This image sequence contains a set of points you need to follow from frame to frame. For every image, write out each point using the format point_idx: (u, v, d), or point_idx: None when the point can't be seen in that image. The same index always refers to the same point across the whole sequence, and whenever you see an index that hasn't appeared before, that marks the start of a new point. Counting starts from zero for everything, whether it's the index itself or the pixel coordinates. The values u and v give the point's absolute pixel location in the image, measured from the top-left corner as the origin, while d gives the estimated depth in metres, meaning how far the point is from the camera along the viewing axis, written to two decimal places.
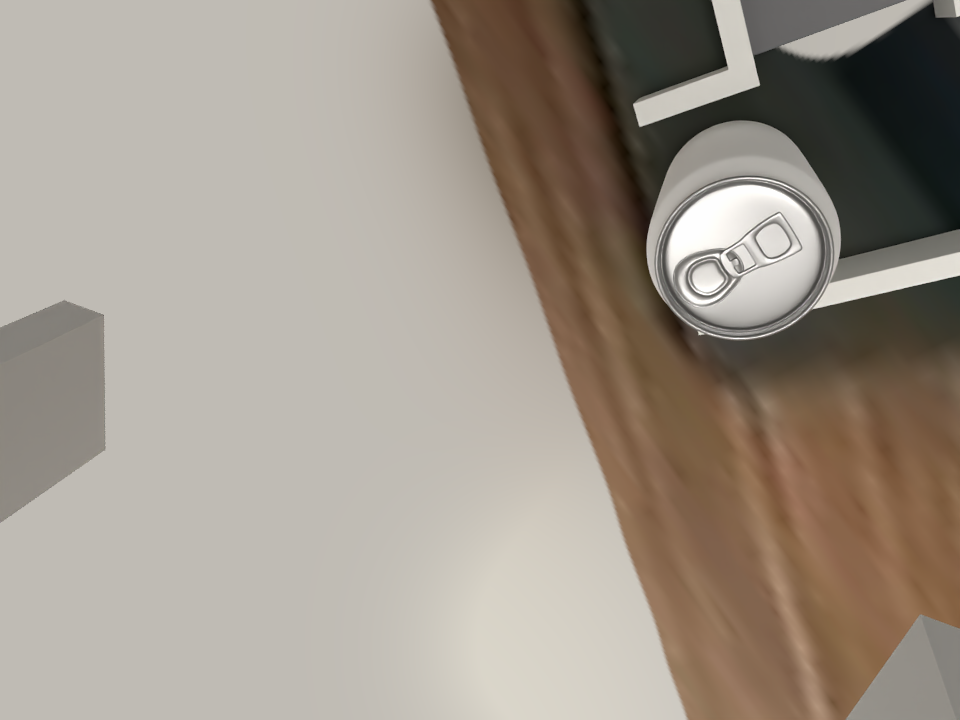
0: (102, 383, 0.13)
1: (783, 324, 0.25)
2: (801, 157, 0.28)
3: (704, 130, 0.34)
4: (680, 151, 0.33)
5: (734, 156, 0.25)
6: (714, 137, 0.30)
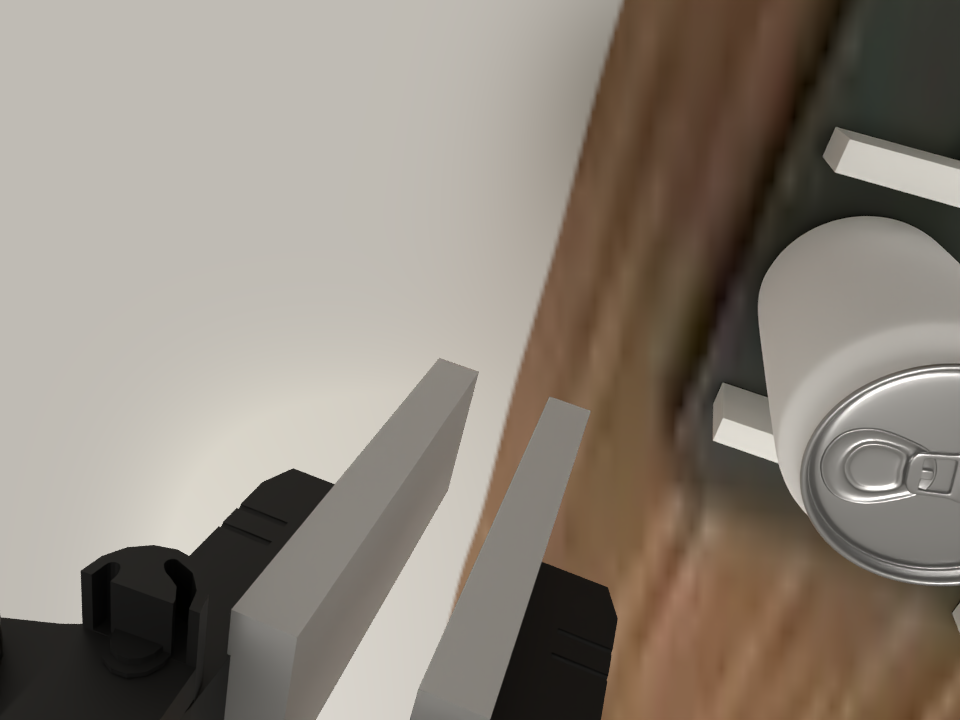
0: (460, 431, 0.14)
1: (918, 577, 0.17)
2: None
3: (881, 218, 0.25)
4: (844, 227, 0.24)
5: None
6: (927, 253, 0.21)
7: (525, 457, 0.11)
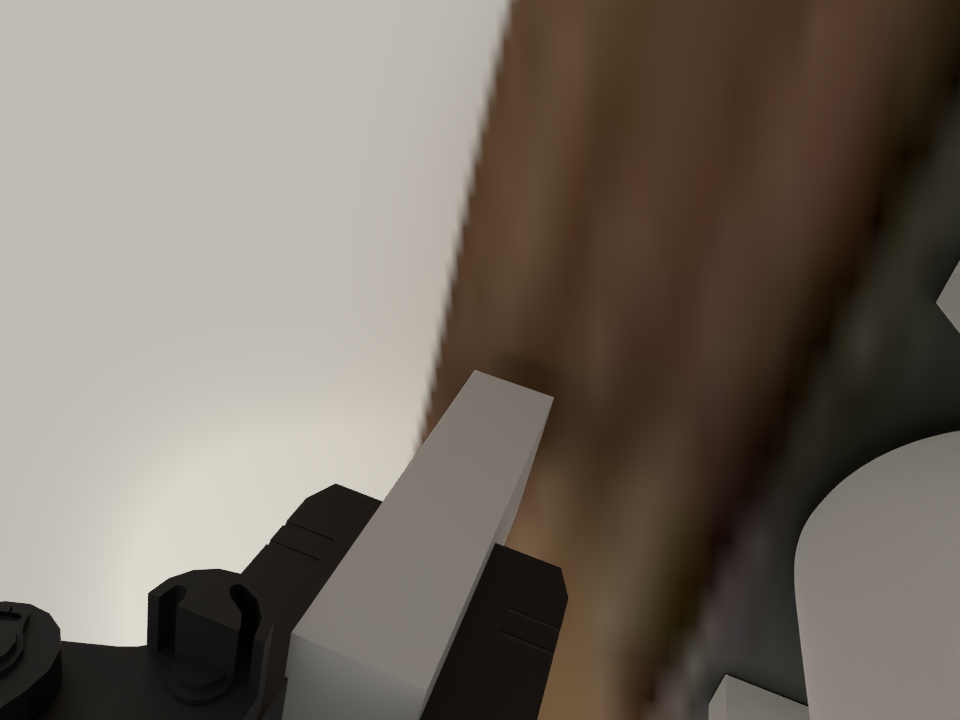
0: None
1: None
2: None
3: None
4: None
5: None
6: None
7: (483, 441, 0.11)
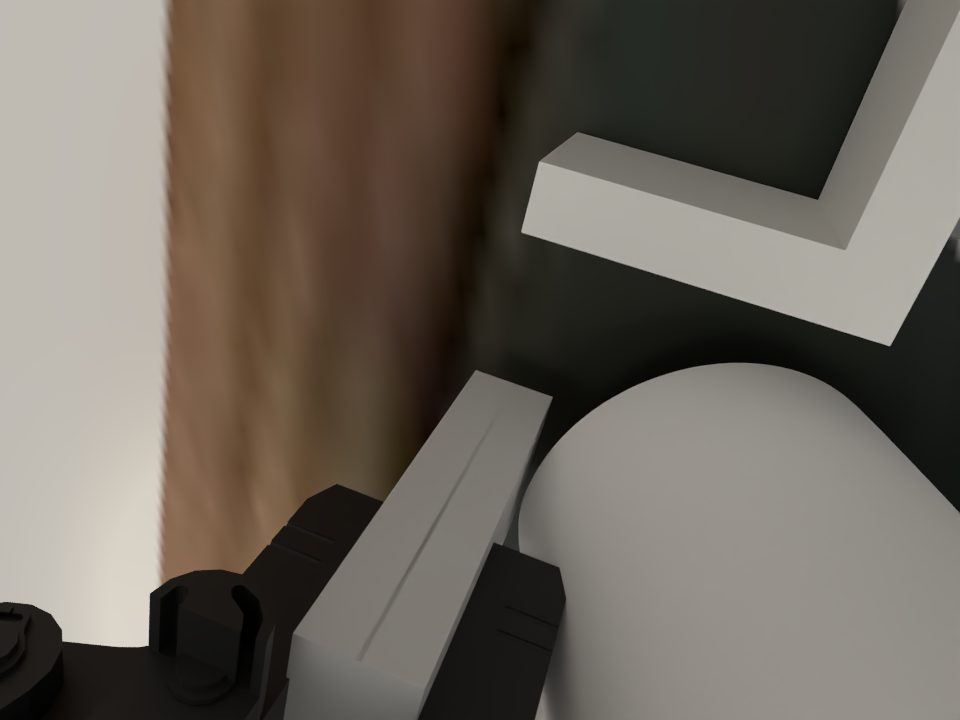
0: None
1: None
2: None
3: (747, 373, 0.11)
4: (683, 420, 0.10)
5: None
6: (940, 570, 0.08)
7: (482, 441, 0.11)
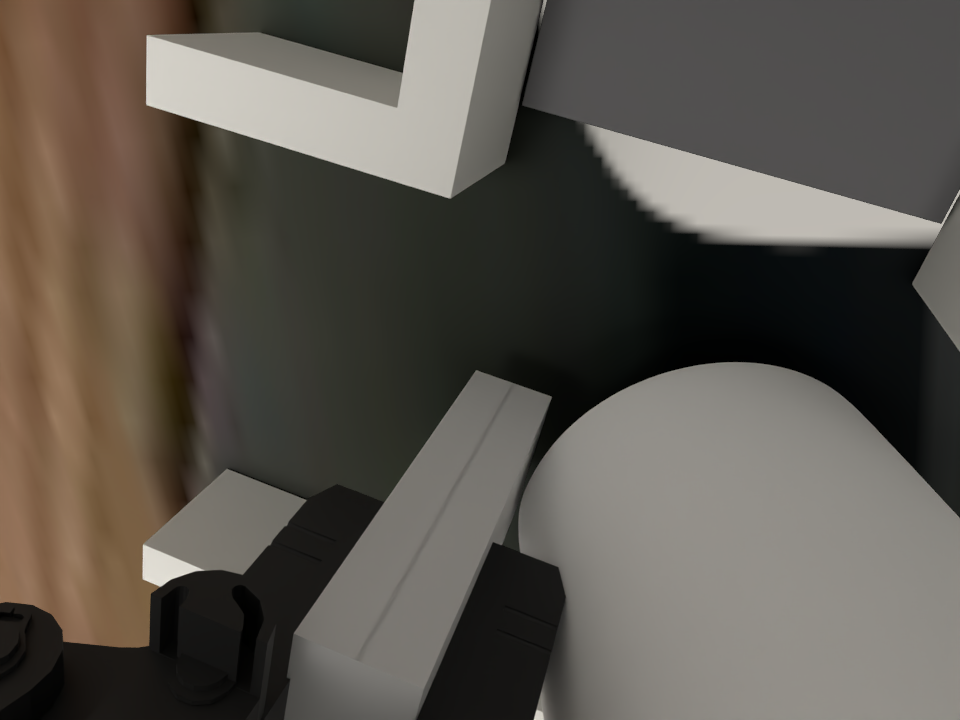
0: None
1: None
2: None
3: (748, 372, 0.11)
4: (684, 416, 0.10)
5: None
6: (935, 566, 0.08)
7: (481, 440, 0.11)
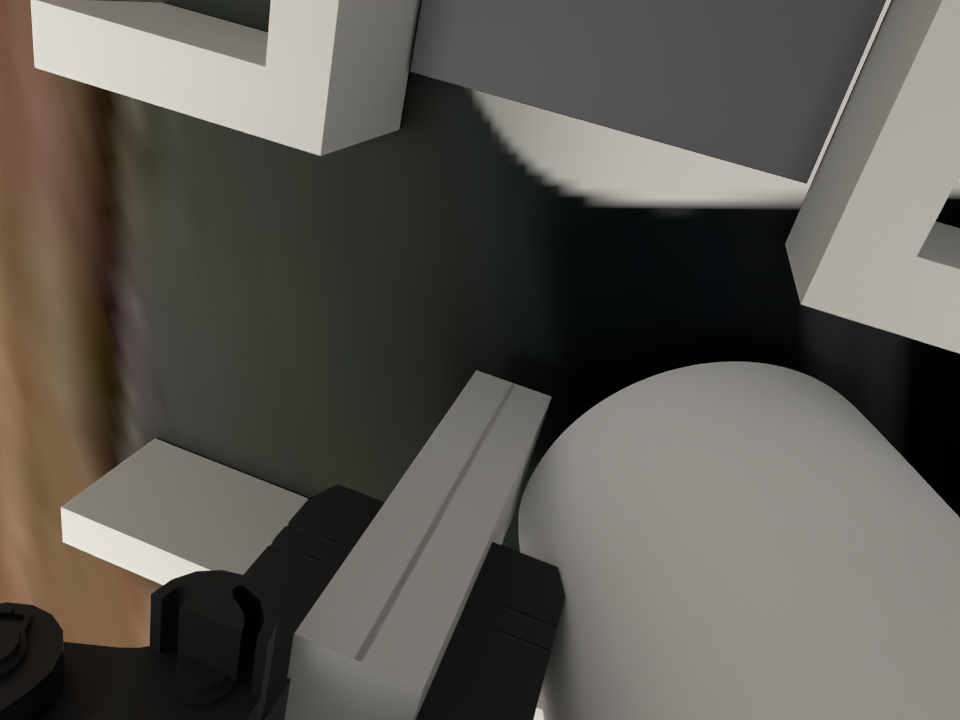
0: None
1: None
2: None
3: (748, 371, 0.11)
4: (684, 415, 0.10)
5: None
6: (934, 564, 0.08)
7: (481, 440, 0.11)
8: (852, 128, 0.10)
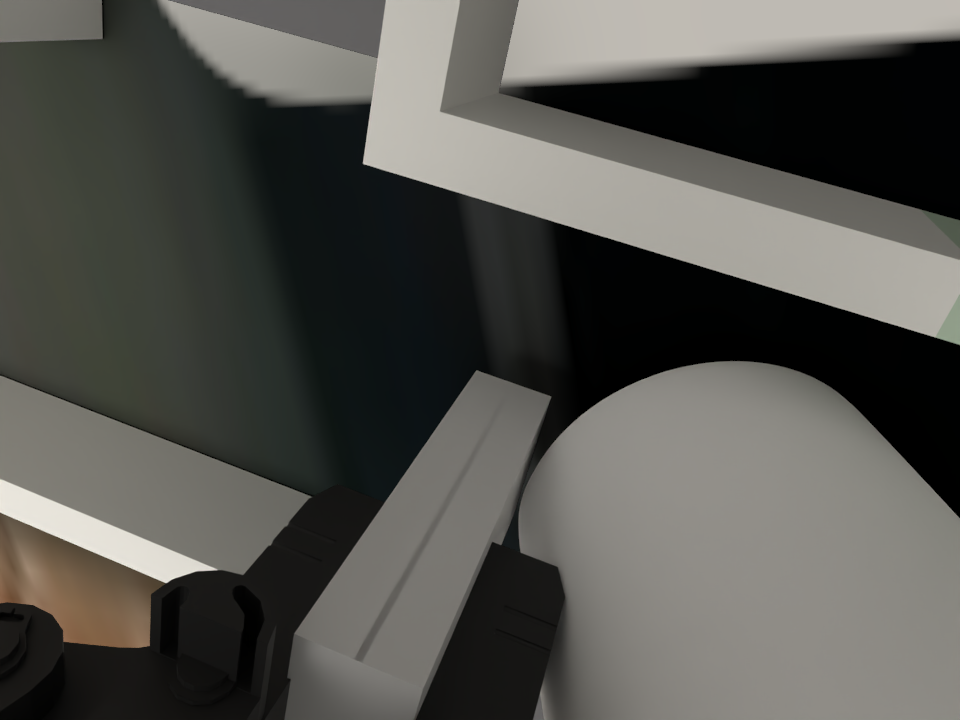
0: None
1: None
2: None
3: (747, 371, 0.11)
4: (684, 415, 0.11)
5: None
6: (932, 563, 0.08)
7: (480, 440, 0.11)
8: None
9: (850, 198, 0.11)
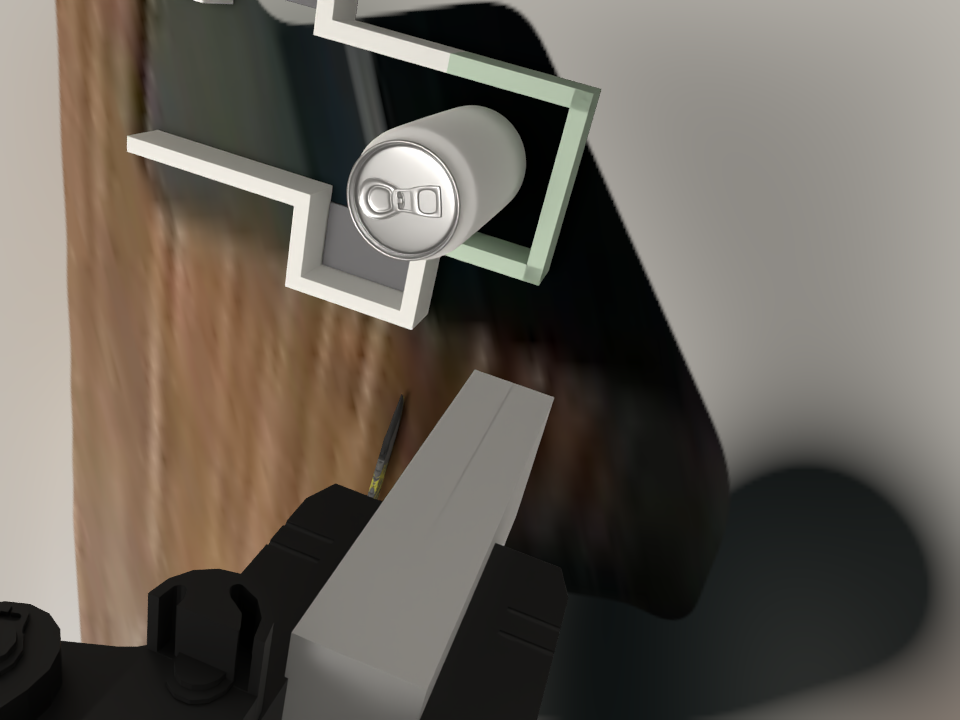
0: None
1: (407, 257, 0.35)
2: (498, 164, 0.38)
3: (476, 105, 0.43)
4: None
5: (439, 134, 0.34)
6: (463, 114, 0.39)
7: (483, 441, 0.11)
8: None
9: (443, 46, 0.42)
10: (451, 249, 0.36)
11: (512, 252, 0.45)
